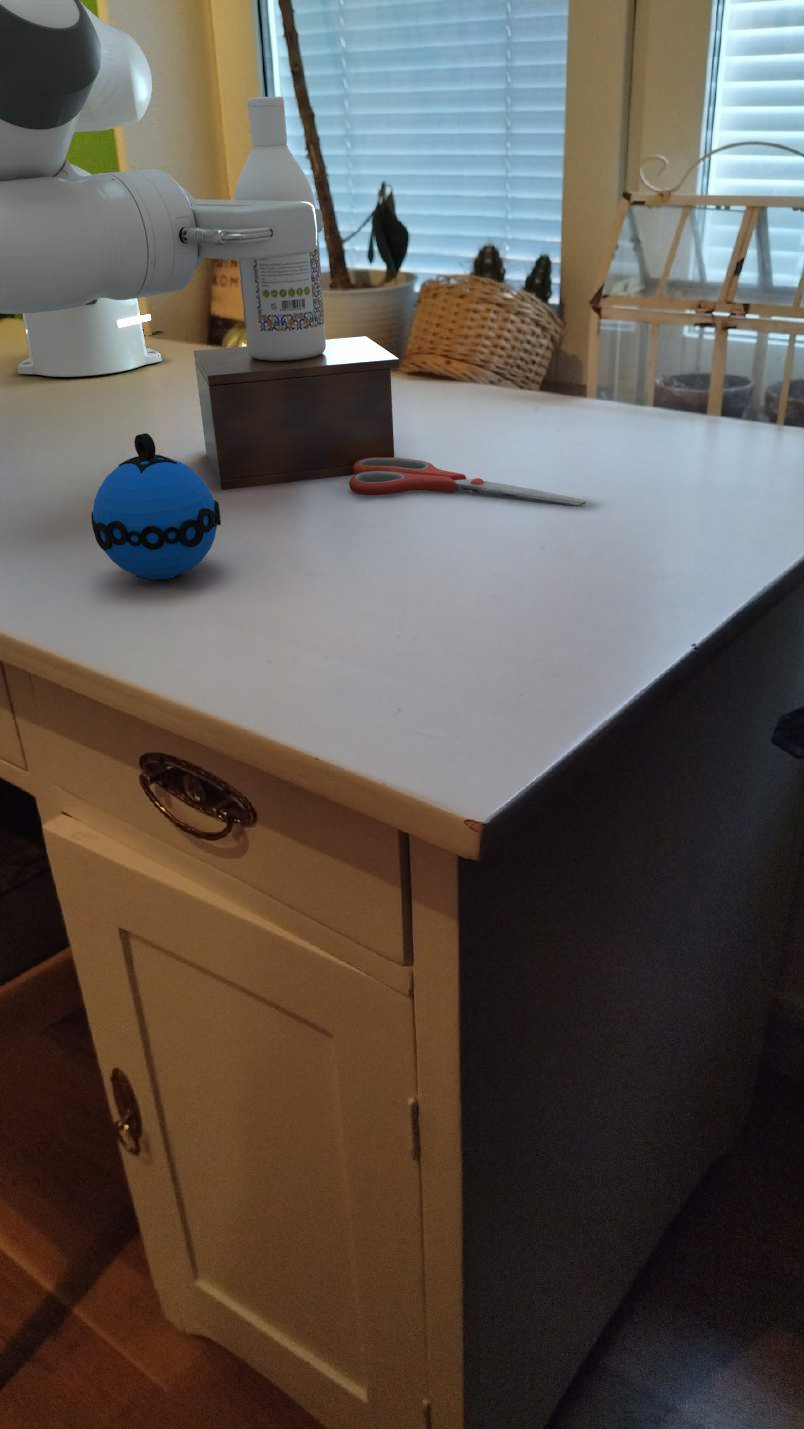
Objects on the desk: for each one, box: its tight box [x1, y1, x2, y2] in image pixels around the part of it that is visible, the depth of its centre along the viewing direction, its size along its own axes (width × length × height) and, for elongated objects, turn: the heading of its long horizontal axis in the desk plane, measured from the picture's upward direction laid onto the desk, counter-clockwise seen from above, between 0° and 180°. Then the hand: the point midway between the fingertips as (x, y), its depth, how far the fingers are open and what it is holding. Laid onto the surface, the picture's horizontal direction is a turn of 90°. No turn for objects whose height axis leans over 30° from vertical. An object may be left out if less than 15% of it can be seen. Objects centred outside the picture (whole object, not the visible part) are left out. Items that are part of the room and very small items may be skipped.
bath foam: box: [233, 96, 326, 361], centre depth 93 cm, size 7×7×20 cm
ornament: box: [90, 432, 222, 581], centre depth 75 cm, size 9×9×10 cm
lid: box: [193, 336, 400, 385], centre depth 98 cm, size 16×13×1 cm
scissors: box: [348, 457, 587, 506], centre depth 93 cm, size 8×21×2 cm, turn 74°
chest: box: [194, 360, 395, 491], centre depth 100 cm, size 16×13×9 cm
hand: (283, 219), depth 93 cm, fingers closed on bath foam, 7 cm apart
